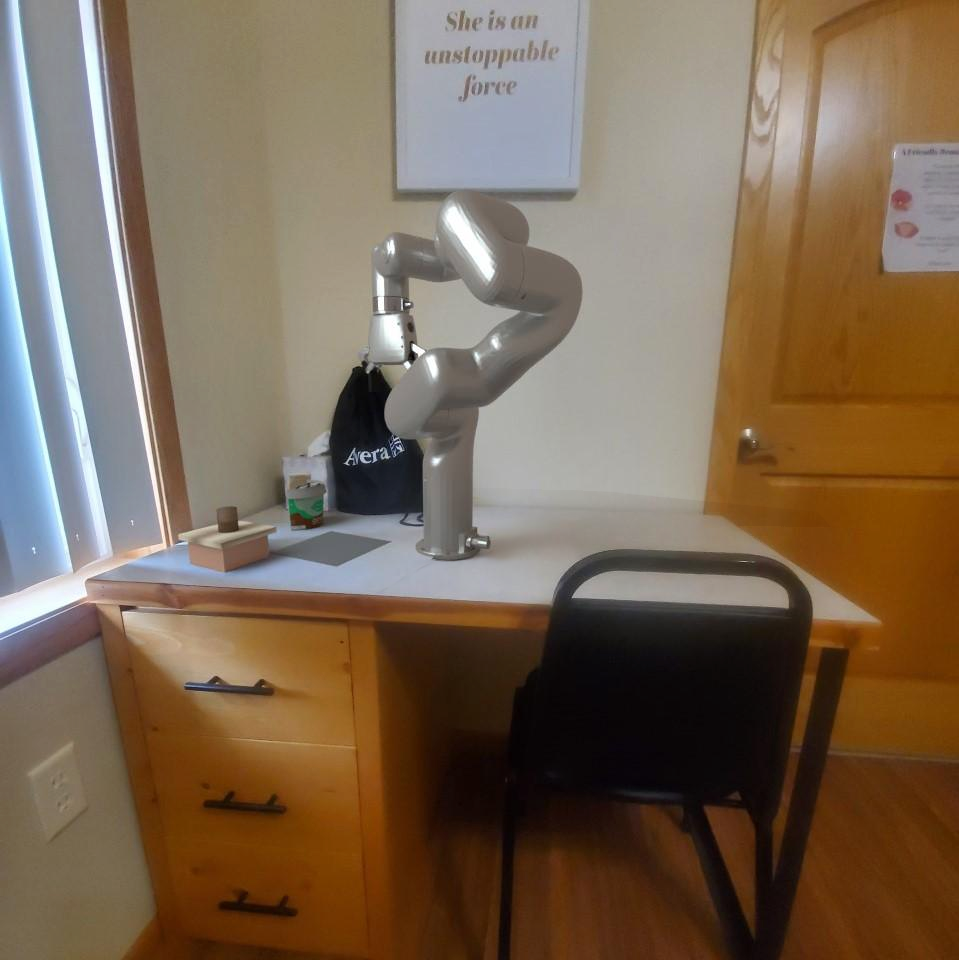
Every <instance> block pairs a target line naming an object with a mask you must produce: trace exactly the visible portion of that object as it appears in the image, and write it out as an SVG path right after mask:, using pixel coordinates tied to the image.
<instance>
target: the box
mask: <svg viewBox="0 0 959 960" xmlns="http://www.w3.org/2000/svg"><path fill="white" fill-rule="evenodd" d="M286 480H287V481H286V482H287V483H286V485H287V489H296V488H297V487H298V486H303V485H305V484H307V480H312V475H311V473H310V472H309V471H296V472H295V471H294V472H286ZM287 509H288V510H287V512H288V513H287V514H288V518H289V519H290V513H289V504H288V503H287Z"/></svg>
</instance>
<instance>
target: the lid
mask: <svg viewBox="0 0 959 960" xmlns="http://www.w3.org/2000/svg"><path fill="white" fill-rule="evenodd" d="M216 520H217V522H216V524H212V525H208V526H205V527H201V528H197V529H194V530H189V531H186V532H182V533H181V532H180V533H178V535H177V537H178V541H182V542H187V543H188V542H191V543H195V544H200V545H204V546H209V547H213V548H218V549H224V548H227V547H231V546H234V545H237V544H240V543H243V542H247V541H250V540H253V539H256V538H260V537H263V536H266V535H268V536H269V535H271V534H274V533H277V526H274V525H273V526H272V525H268V524H262V523H256V522H251V521H246V520H239V518H238V507H237V506H234V505H233V506H230V505H229V506H228V505H227V506H221V507H217V508H216Z"/></svg>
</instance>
